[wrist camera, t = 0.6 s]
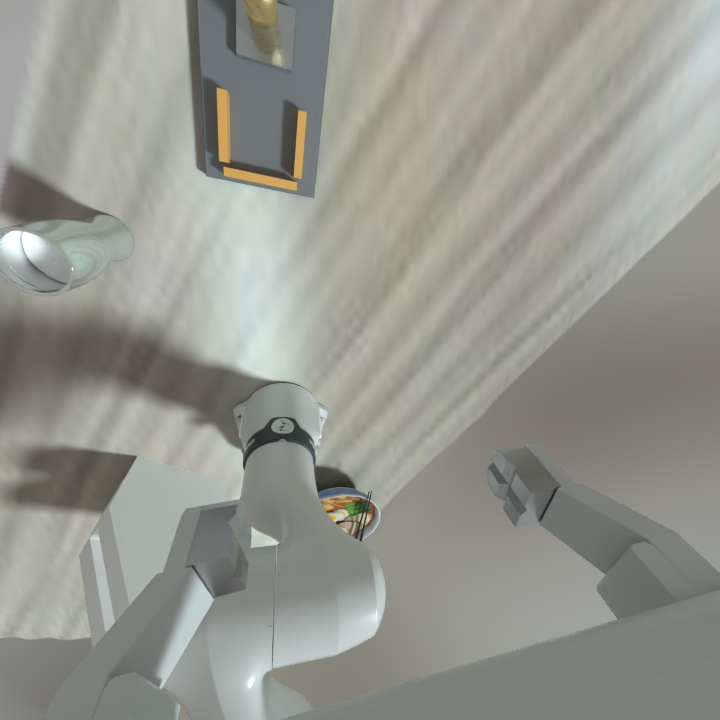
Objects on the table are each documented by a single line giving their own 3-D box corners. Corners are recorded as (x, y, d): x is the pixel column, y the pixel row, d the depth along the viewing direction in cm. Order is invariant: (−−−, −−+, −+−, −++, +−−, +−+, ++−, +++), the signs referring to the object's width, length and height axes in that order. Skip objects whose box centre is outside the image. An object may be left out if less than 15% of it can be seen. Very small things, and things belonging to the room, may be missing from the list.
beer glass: (115, 202, 40) (34, 213, 27) (150, 254, 44) (93, 284, 31) (66, 220, 40) (-39, 239, 27) (105, 270, 44) (29, 307, 31)
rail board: (313, 197, 44) (314, 198, 41) (208, 176, 40) (202, 176, 37) (337, -50, 33) (342, -73, 30) (195, -111, 29) (184, -144, 26)
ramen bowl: (292, 468, 72) (292, 498, 65) (382, 464, 78) (391, 492, 71) (286, 529, 84) (286, 561, 77) (365, 522, 89) (371, 551, 83)
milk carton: (110, 500, 66) (25, 650, 45) (137, 455, 61) (57, 599, 40) (198, 519, 75) (162, 652, 54) (228, 481, 70) (201, 611, 49)
